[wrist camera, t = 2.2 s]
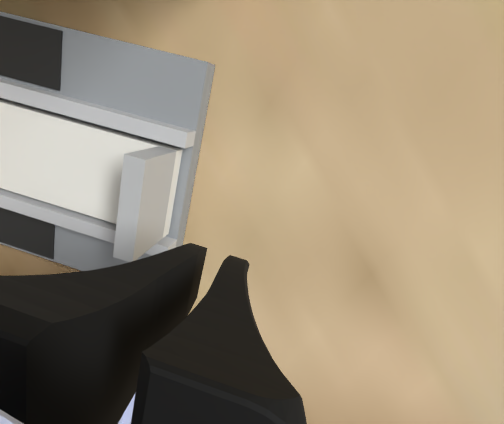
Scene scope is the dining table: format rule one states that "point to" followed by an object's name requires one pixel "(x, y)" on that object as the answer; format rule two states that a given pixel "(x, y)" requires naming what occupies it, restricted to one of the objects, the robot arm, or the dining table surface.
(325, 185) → the dining table surface
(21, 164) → the sled
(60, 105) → the track
